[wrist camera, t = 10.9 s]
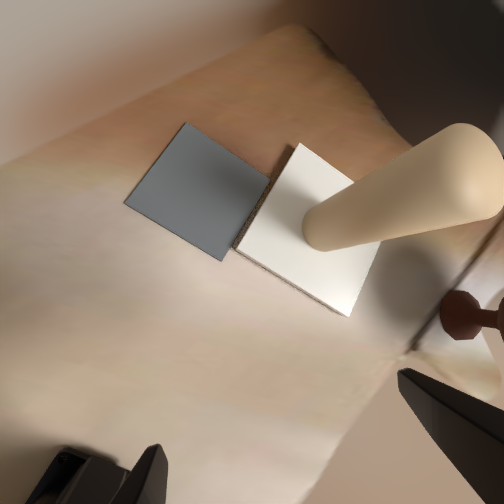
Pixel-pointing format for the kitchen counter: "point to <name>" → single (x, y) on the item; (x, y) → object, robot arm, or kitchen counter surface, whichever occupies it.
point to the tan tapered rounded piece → (414, 193)
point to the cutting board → (292, 239)
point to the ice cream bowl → (468, 316)
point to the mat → (199, 192)
